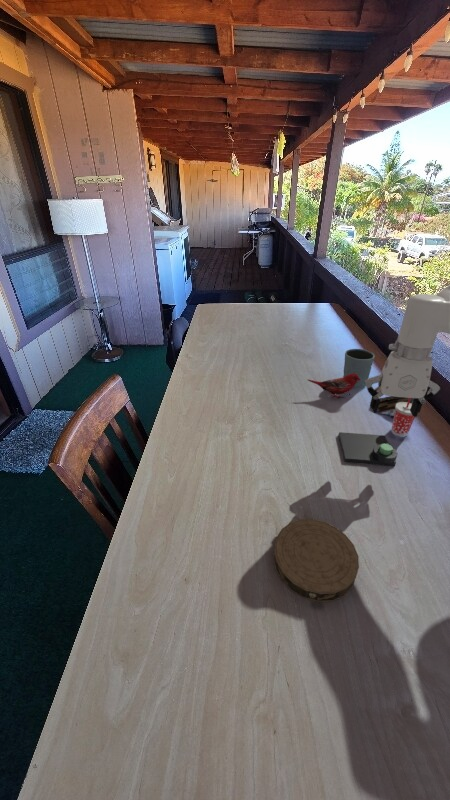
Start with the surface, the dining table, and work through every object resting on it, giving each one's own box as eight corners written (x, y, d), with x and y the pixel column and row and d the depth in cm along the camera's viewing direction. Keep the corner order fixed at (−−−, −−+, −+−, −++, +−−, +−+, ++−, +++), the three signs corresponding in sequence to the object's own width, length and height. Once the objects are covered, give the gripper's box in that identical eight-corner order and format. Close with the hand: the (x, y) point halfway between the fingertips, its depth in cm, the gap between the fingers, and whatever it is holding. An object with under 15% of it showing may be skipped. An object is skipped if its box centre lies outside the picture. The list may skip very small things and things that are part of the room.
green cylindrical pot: (368, 391, 127) (375, 361, 121) (339, 387, 130) (344, 357, 124) (367, 379, 135) (374, 350, 129) (340, 375, 138) (345, 347, 132)
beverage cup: (399, 424, 109) (411, 385, 102) (415, 435, 104) (428, 395, 97) (384, 429, 107) (395, 389, 100) (399, 440, 102) (411, 399, 95)
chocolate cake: (372, 416, 114) (407, 401, 106) (371, 400, 118) (405, 385, 110) (389, 431, 117) (425, 418, 109) (387, 416, 122) (422, 402, 114)
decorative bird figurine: (357, 401, 121) (362, 376, 116) (305, 396, 124) (308, 371, 119) (356, 397, 123) (361, 372, 118) (305, 392, 127) (308, 368, 121)
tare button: (389, 449, 95) (390, 443, 94) (392, 456, 92) (393, 450, 91) (377, 448, 95) (379, 443, 94) (380, 455, 93) (382, 450, 92)
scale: (385, 439, 103) (387, 431, 101) (397, 467, 92) (400, 459, 91) (338, 435, 104) (339, 427, 103) (344, 463, 94) (346, 454, 92)
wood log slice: (369, 558, 70) (372, 548, 68) (332, 621, 59) (334, 612, 58) (300, 516, 79) (301, 506, 77) (257, 564, 69) (258, 555, 67)
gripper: (377, 353, 79) (360, 417, 88) (459, 359, 77) (434, 423, 85) (370, 341, 85) (355, 401, 94) (446, 346, 83) (424, 407, 92)
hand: (393, 412), depth 90 cm, fingers open, 9 cm apart
